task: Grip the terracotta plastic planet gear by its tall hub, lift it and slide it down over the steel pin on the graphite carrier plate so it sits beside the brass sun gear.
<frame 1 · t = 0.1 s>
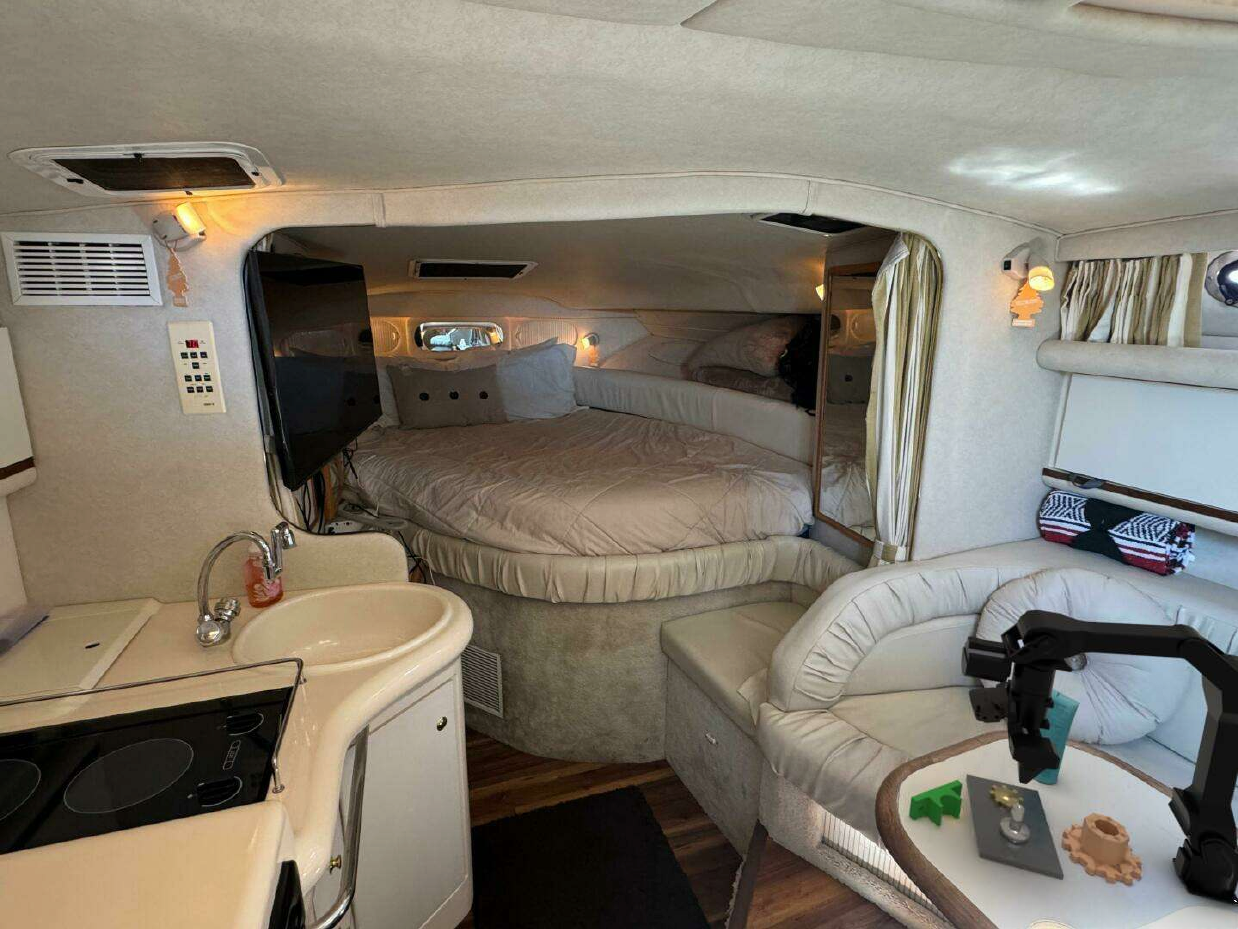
hand: (1017, 763, 107), 15 cm above the table, fingers open, 9 cm apart
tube: (1042, 775, 124), on the table
carrier plate: (1009, 824, 113), on the table
planet gear: (1100, 855, 106), on the table
pipe clamp: (939, 815, 116), on the table
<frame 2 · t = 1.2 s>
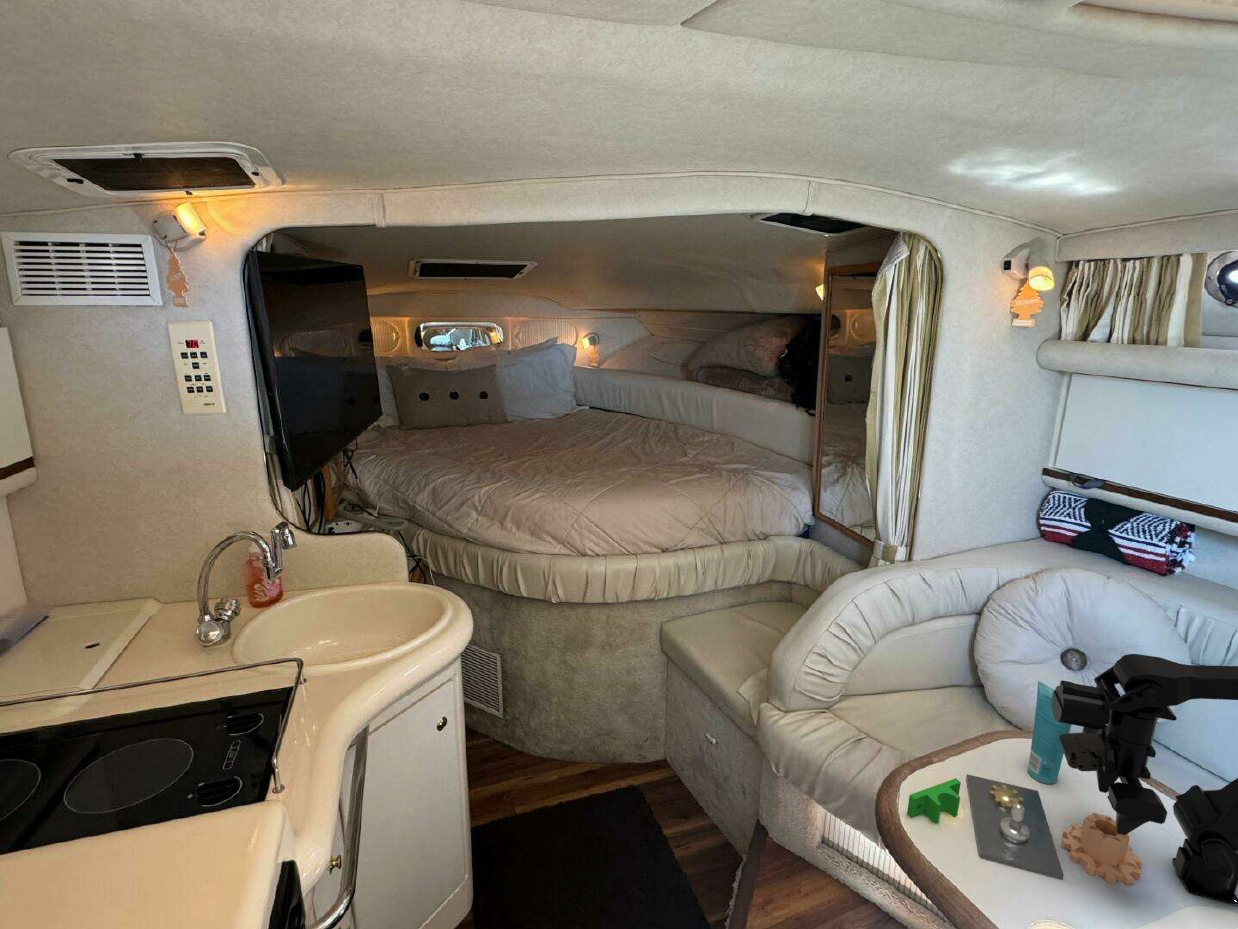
hand: (1111, 812, 104), 9 cm above the table, fingers open, 9 cm apart
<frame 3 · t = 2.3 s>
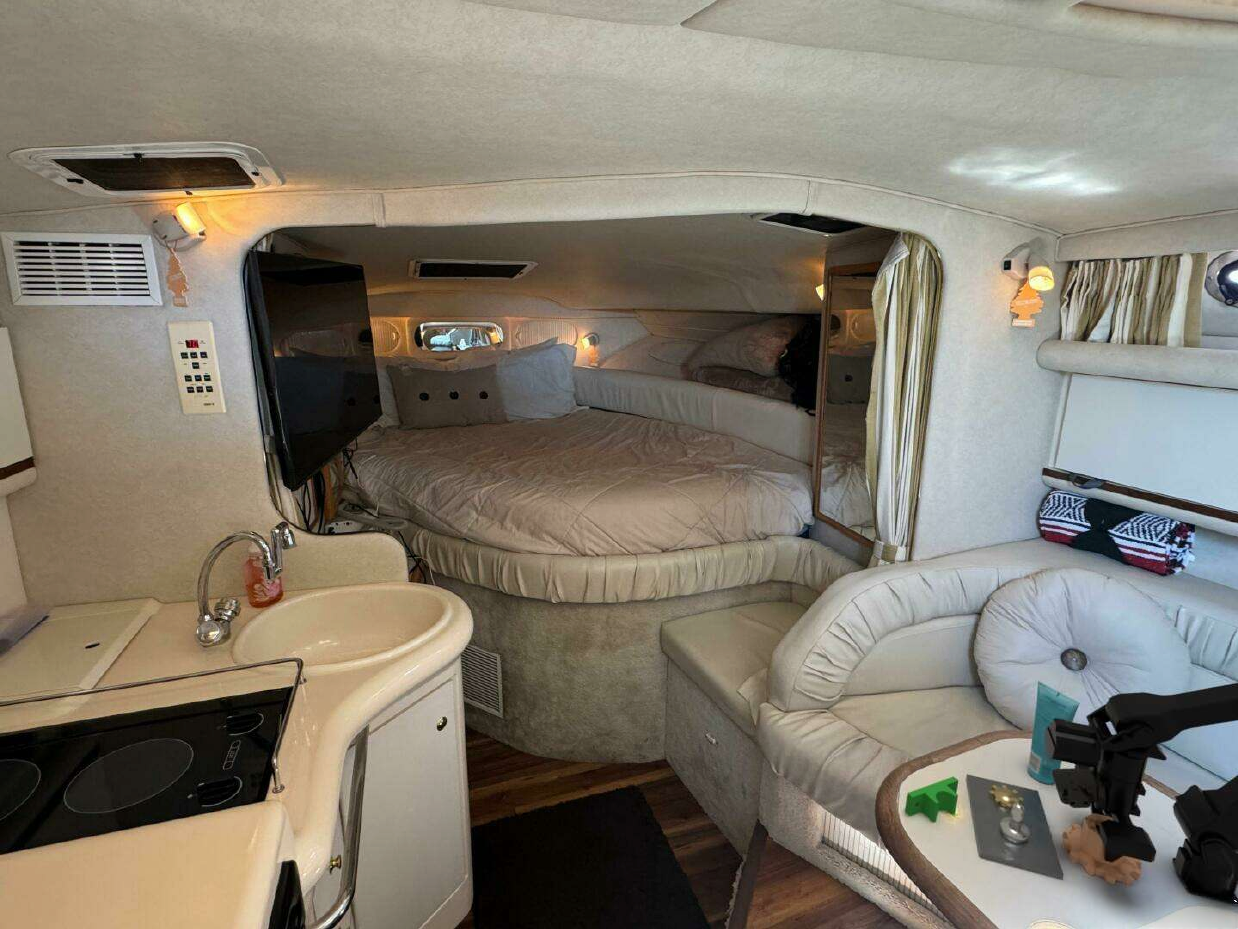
hand: (1102, 846, 106), 2 cm above the table, fingers closed on planet gear, 6 cm apart
planet gear: (1100, 855, 106), on the table, touching gripper
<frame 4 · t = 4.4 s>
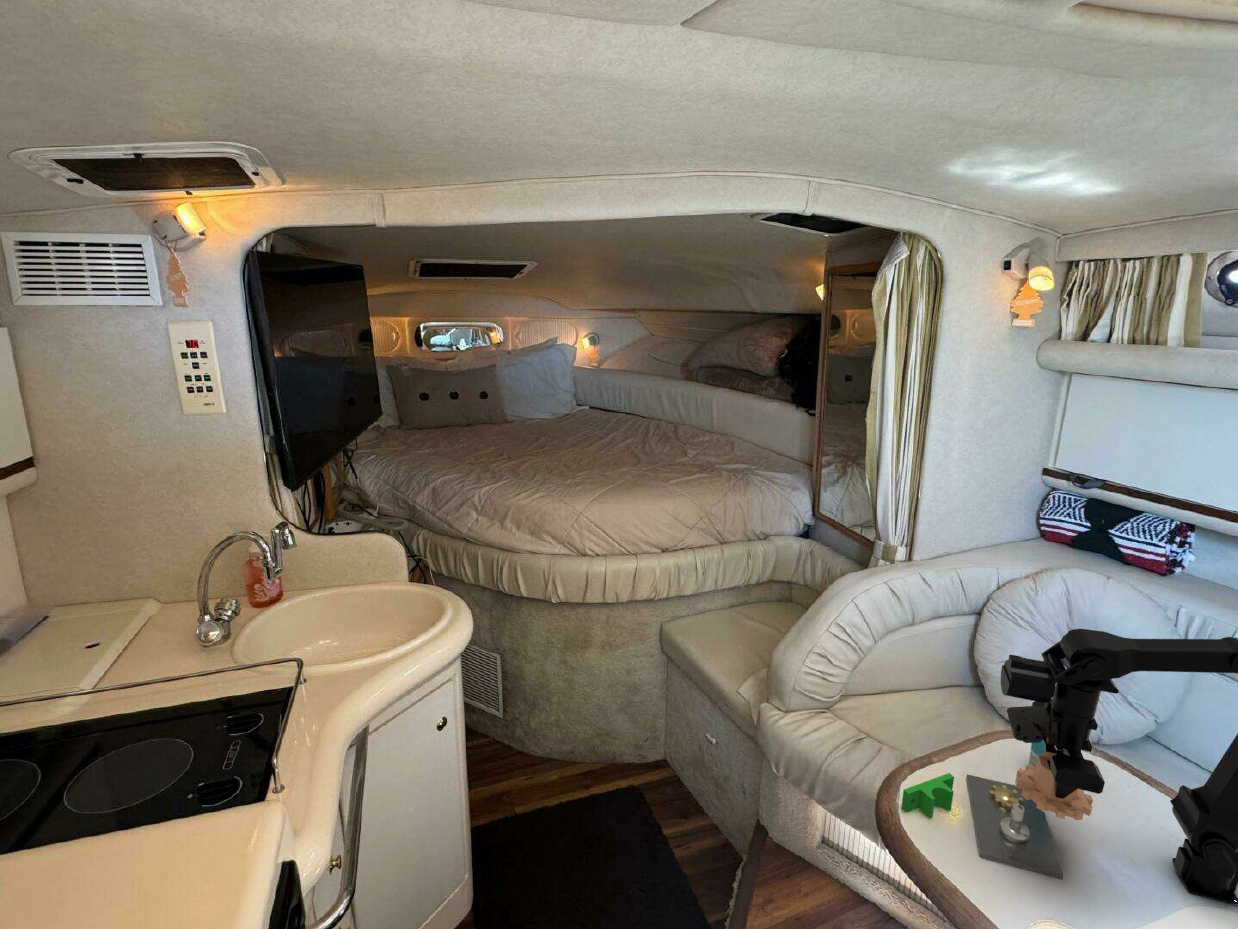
hand: (1054, 784, 105), 13 cm above the table, fingers closed on planet gear, 6 cm apart
planet gear: (1052, 794, 106), point 11 cm above the table, touching gripper
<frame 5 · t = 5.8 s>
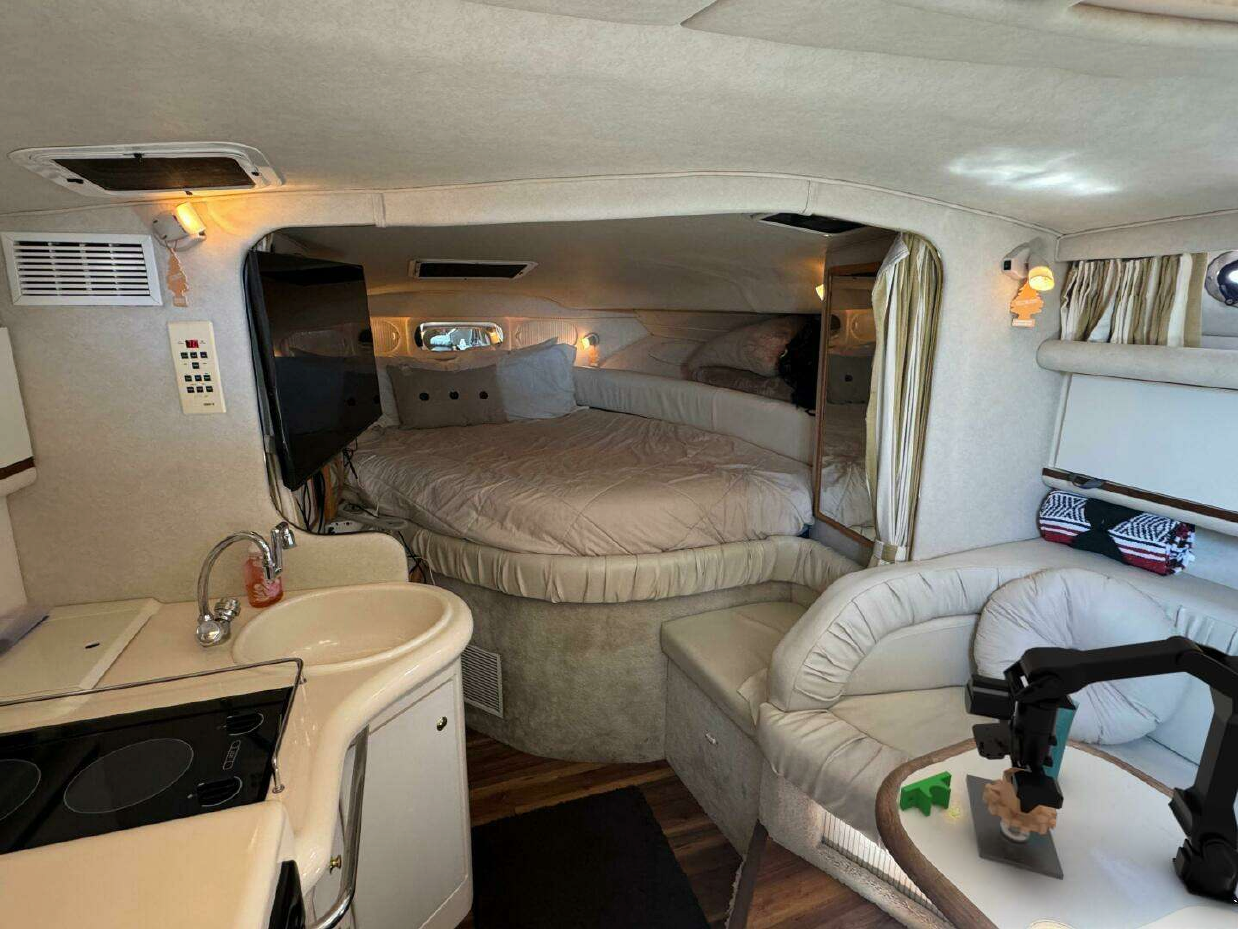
hand: (1020, 799, 108), 8 cm above the table, fingers closed on planet gear, 6 cm apart
planet gear: (1018, 808, 108), point 6 cm above the table, touching gripper
when the fingers open (5 cm above the table, at t = 6.8 s): planet gear drops 1 cm, resting on carrier plate.
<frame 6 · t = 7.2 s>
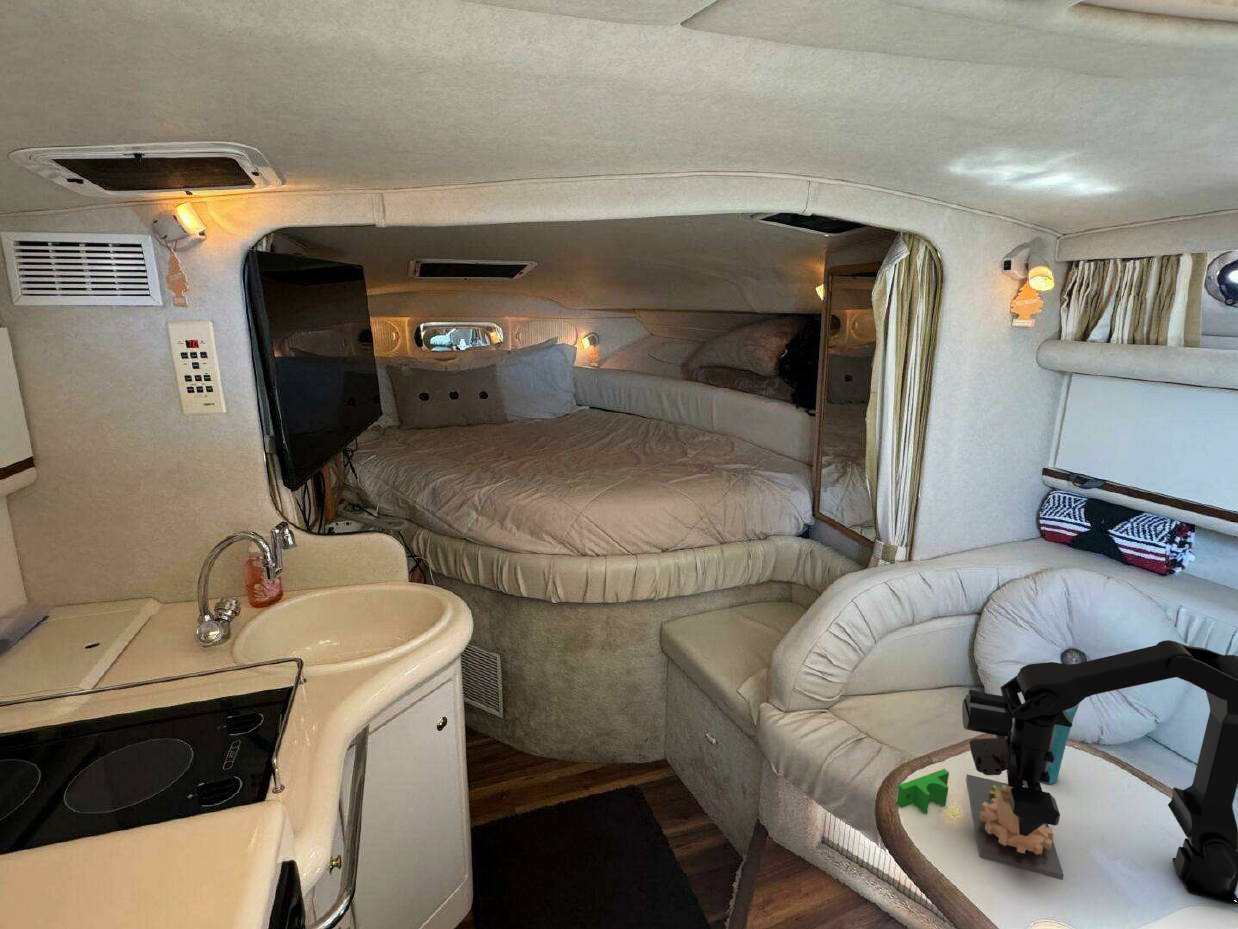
hand: (1017, 813, 109), 5 cm above the table, fingers open, 9 cm apart
planet gear: (1014, 827, 110), point 2 cm above the table, touching carrier plate
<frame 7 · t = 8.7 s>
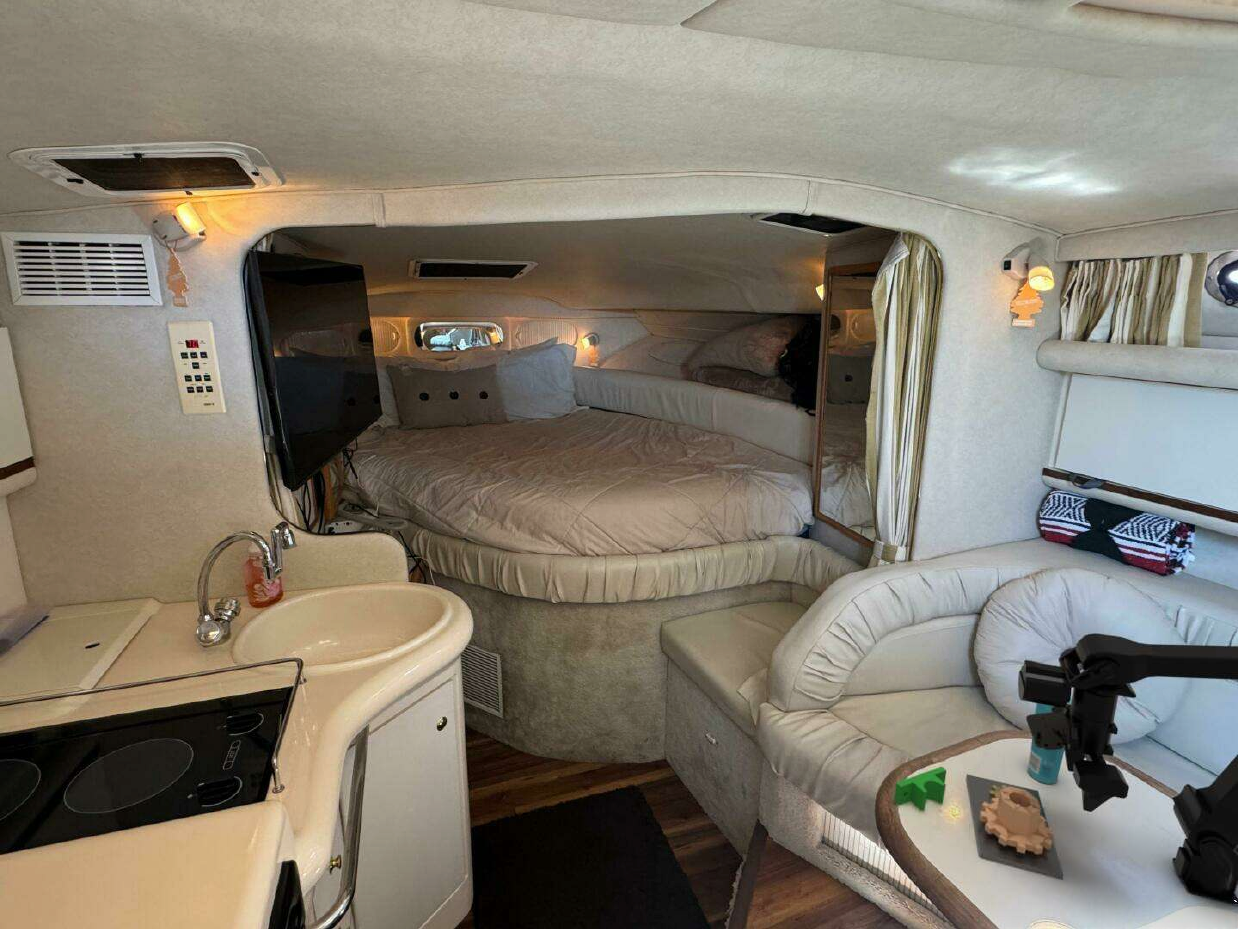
hand: (1078, 790, 106), 11 cm above the table, fingers open, 9 cm apart
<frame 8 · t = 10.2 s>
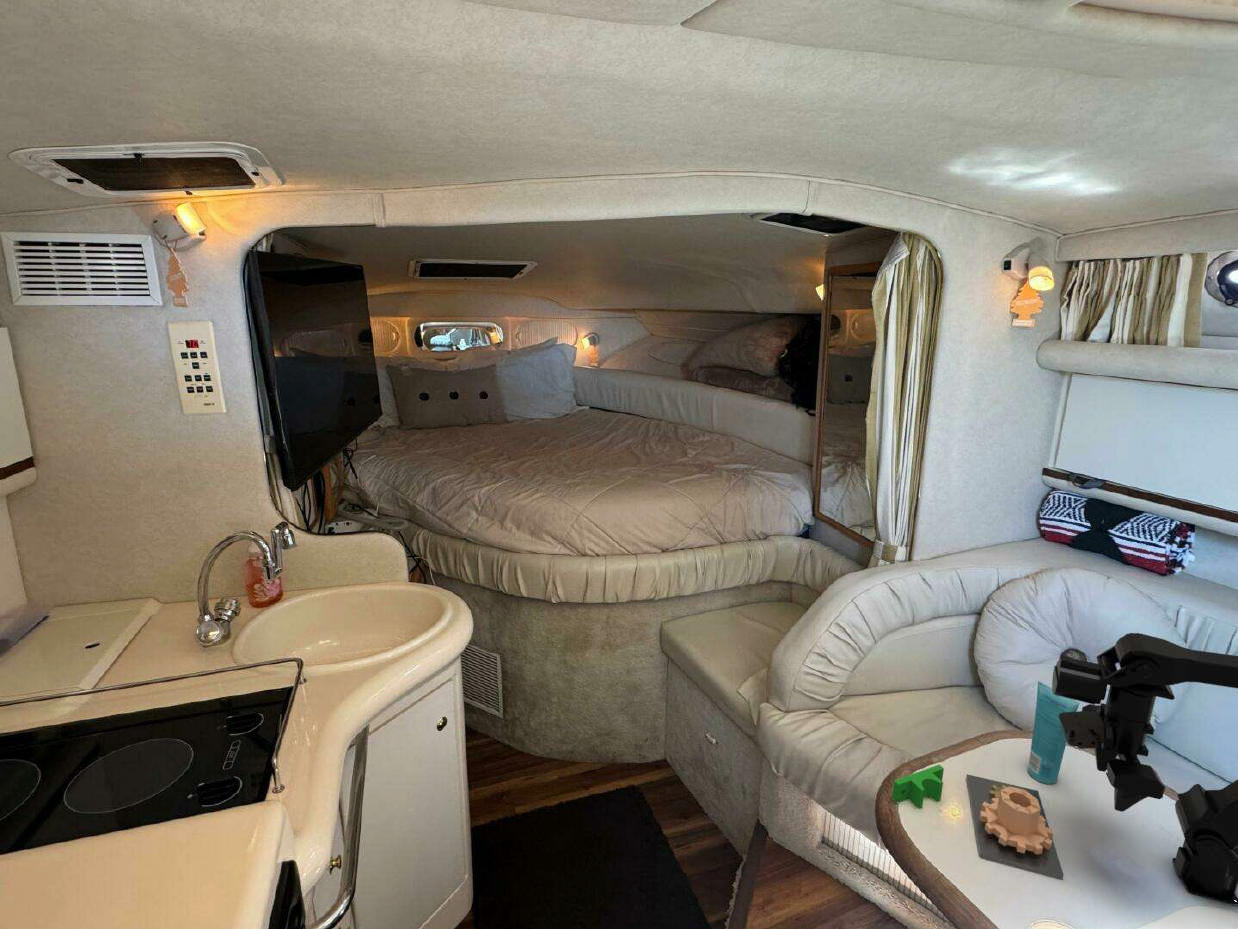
hand: (1109, 789, 105), 12 cm above the table, fingers open, 9 cm apart
at the end: planet gear 0.0 cm from the target spot on the carrier plate, point 2.2 cm above the carrier plate's base; planet gear tilted 0°; the gripper is holding nothing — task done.
